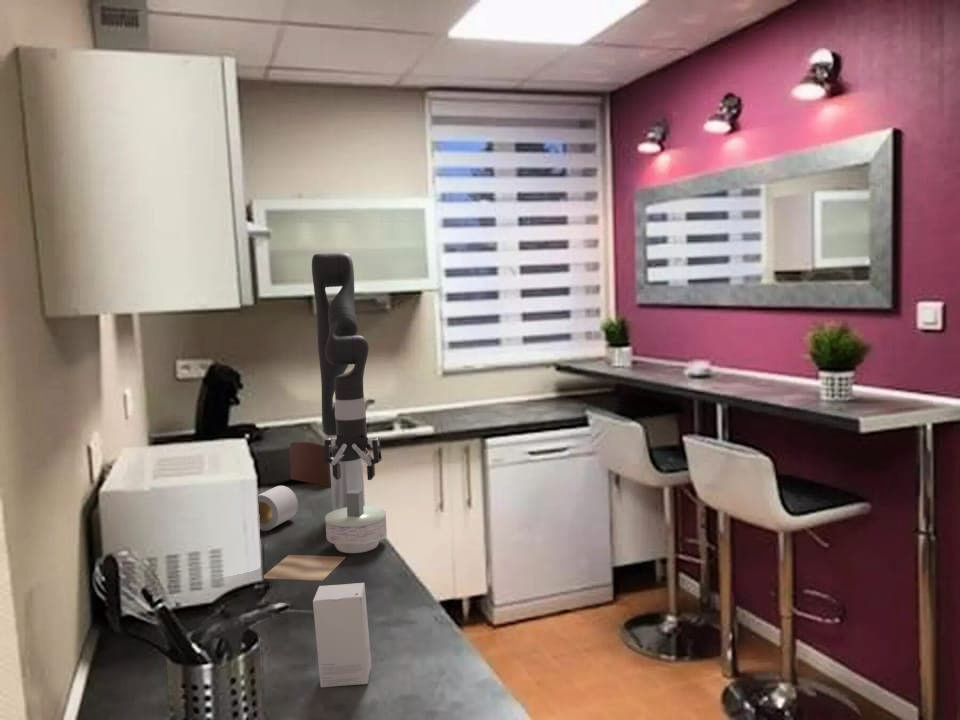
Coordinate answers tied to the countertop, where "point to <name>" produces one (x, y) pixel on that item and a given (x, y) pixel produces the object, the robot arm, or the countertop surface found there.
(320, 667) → the skincare box
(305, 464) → the letter holder
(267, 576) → the mat
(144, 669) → the countertop surface
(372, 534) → the paper bowls
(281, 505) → the toilet paper
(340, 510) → the lid
